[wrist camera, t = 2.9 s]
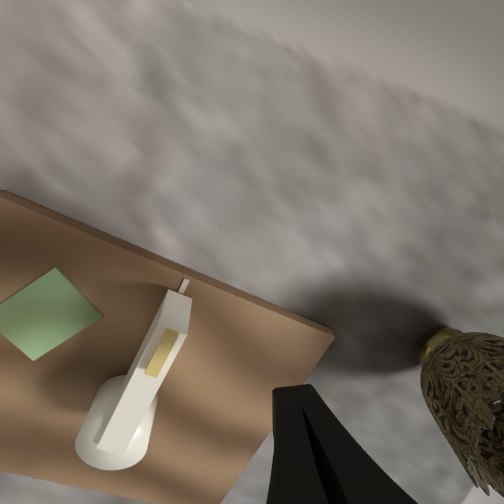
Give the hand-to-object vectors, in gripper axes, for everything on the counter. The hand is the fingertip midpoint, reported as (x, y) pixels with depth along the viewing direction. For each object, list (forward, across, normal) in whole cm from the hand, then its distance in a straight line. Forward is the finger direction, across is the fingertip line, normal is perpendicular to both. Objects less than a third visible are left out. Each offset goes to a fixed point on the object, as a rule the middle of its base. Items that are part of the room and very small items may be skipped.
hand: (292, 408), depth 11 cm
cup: (+9, -13, +6) cm, 17 cm away
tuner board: (+9, +8, +6) cm, 14 cm away
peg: (+8, +7, +3) cm, 11 cm away
